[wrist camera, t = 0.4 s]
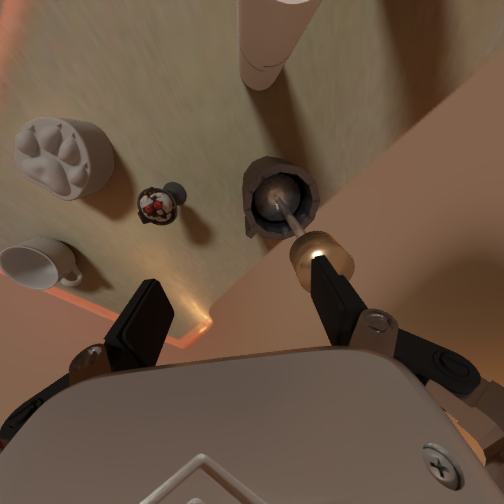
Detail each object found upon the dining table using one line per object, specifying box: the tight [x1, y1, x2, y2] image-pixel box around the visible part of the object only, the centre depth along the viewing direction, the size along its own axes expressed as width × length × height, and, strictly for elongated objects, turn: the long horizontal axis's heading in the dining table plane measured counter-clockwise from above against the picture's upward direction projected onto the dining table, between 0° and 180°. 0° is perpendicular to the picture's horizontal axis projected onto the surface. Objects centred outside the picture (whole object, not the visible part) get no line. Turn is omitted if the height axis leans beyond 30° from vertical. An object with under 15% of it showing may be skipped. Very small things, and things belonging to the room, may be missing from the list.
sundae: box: [137, 182, 186, 225], centre depth 36 cm, size 7×7×15 cm
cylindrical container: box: [237, 0, 322, 91], centre depth 22 cm, size 7×7×25 cm
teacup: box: [0, 237, 83, 290], centre depth 45 cm, size 14×11×8 cm
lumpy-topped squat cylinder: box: [14, 117, 115, 201], centre depth 34 cm, size 10×13×9 cm
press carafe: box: [242, 156, 320, 240], centre depth 36 cm, size 13×11×16 cm
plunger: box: [254, 174, 355, 293], centre depth 23 cm, size 8×8×21 cm
